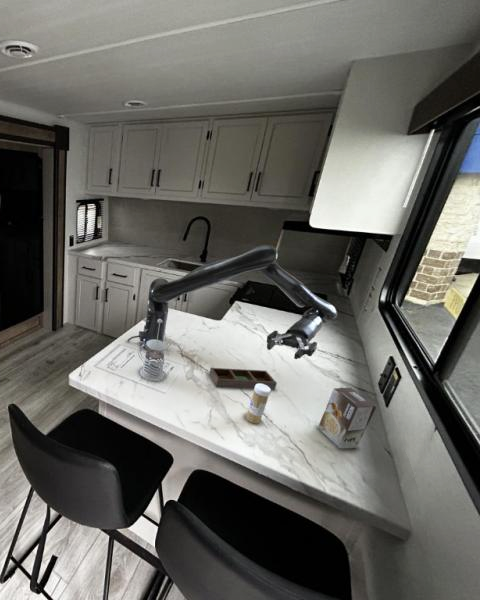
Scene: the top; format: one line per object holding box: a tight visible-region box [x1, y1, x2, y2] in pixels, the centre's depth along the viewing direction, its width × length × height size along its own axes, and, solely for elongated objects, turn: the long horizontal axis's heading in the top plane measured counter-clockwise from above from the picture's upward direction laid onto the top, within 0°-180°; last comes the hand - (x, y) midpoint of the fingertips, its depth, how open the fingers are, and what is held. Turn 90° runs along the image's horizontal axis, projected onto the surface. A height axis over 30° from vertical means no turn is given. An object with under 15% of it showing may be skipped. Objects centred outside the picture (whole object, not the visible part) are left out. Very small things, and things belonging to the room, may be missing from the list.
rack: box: [208, 367, 278, 391], centre depth 126 cm, size 8×23×4 cm, turn 88°
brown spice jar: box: [245, 384, 272, 424], centre depth 105 cm, size 5×5×13 cm
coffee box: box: [317, 387, 377, 449], centre depth 99 cm, size 9×6×16 cm
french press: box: [137, 319, 168, 382], centre depth 126 cm, size 10×12×25 cm
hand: (281, 352), depth 108 cm, fingers open, 8 cm apart
